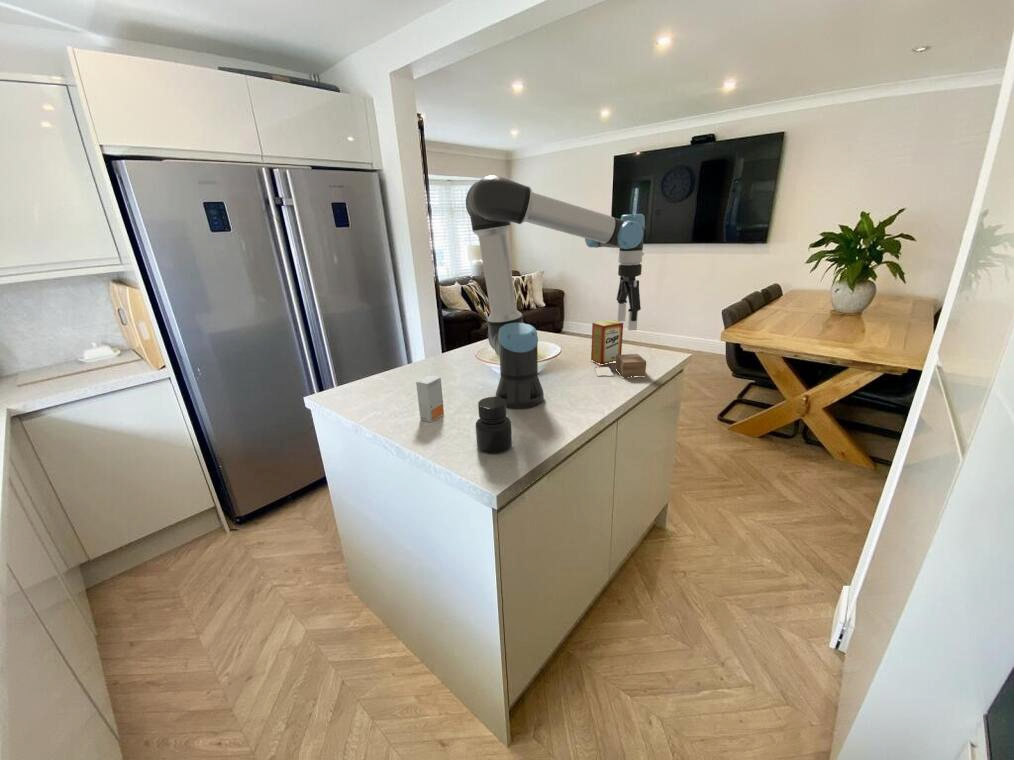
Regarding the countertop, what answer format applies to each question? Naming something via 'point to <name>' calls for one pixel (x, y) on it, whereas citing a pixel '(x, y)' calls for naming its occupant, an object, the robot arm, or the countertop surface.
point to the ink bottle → (493, 426)
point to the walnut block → (630, 365)
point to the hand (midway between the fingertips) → (626, 325)
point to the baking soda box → (606, 341)
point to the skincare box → (430, 398)
